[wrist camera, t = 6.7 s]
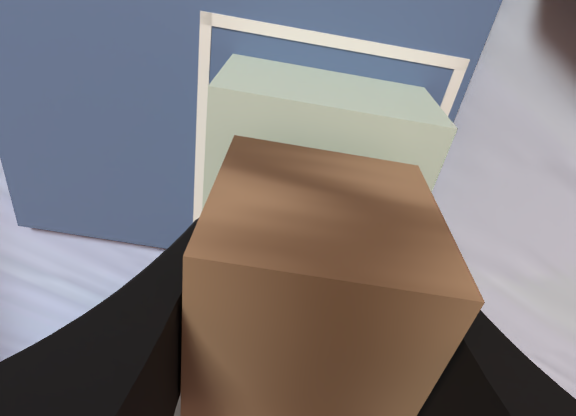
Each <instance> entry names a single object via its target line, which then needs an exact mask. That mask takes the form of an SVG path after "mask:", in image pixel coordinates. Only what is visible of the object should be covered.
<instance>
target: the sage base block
mask: <svg viewBox="0 0 576 416" xmlns="http://www.w3.org/2000/svg"><path fill="white" fill-rule="evenodd" d="M456 132H457V127H456V126H455V125H454V124H453V122H452V121H451V120H450V119H449V117H448V116H447V115H446V114H445V112H444V111H443V110H442V109H441V107H440V106H439V105H438V104H437V102H436V101H435V100H434V99H433V97H432V96H431V95H430V94H429V93H428V91H427V90H426V89H425V88H424V87H419V86H414V85H408V84H402V83H397V82H391V81H385V80H380V79H374V78H368V77H363V76H357V75H351V74H346V73H340V72H334V71H329V70H323V69H317V68H312V67H306V66H300V65H295V64H289V63H283V62H278V61H272V60H266V59H261V58H255V57H249V56H244V55H238V54H232V55H231V57H230V58H229V59H228V61H227V62H226V63H225V64H224V66H223V67H222V68H221V70H220V71H219V72H218V74H217V75H216V76H215V77H214V79H213V80H212V81H211V83H210V84H209V85H208V98H207V119H206V140H205V160H204V181H203V202H202V210H203V208H204V205H205V203H206V201H207V198H208V196H209V194H210V191H211V189H212V186H213V184H214V182H215V179H216V177H217V175H218V172H219V170H220V168H221V165H222V163H223V161H224V158H225V156H226V154H227V151H228V149H229V146H230V144H231V142H232V139H233V137H234V135H237V136H243V137H249V138H255V139H261V140H268V141H274V142H280V143H286V144H292V145H298V146H304V147H310V148H316V149H322V150H328V151H334V152H340V153H346V154H352V155H358V156H364V157H370V158H376V159H382V160H388V161H394V162H400V163H406V164H412V165H418V166H419V168H420V170H421V172H422V174H423V176H424V178H425V180H426V183H427V185H428V187H429V189H430V191H431V192H432V190H433V187H434V185H435V182H436V180H437V178H438V175H439V173H440V170H441V168H442V166H443V163H444V161H445V158H446V156H447V153H448V151H449V149H450V146H451V144H452V141H453V139H454V136H455V134H456Z"/></svg>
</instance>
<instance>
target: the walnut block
mask: <svg viewBox="0 0 576 416" xmlns="http://www.w3.org/2000/svg"><path fill="white" fill-rule="evenodd" d="M484 303H485V302H484V300H483V298H482V296H481V294H480V292H479V289H478V287H477V285H476V283H475V281H474V279H473V277H472V275H471V273H470V271H469V269H468V267H467V265H466V263H465V261H464V259H463V257H462V255H461V252H460V250H459V248H458V246H457V244H456V242H455V240H454V238H453V236H452V234H451V232H450V230H449V228H448V226H447V224H446V222H445V220H444V217H443V215H442V213H441V211H440V209H439V207H438V205H437V203H436V201H435V199H434V197H433V195H432V193H431V191H430V189H429V187H428V185H427V183H426V180H425V178H424V176H423V174H422V172H421V170H420V168H419V166H418V165H412V164H406V163H400V162H394V161H388V160H382V159H376V158H370V157H364V156H358V155H352V154H346V153H340V152H334V151H328V150H322V149H316V148H310V147H304V146H298V145H292V144H286V143H280V142H274V141H268V140H261V139H255V138H249V137H243V136H237V135H234V137H233V139H232V142H231V144H230V146H229V149H228V151H227V154H226V156H225V158H224V161H223V163H222V165H221V168H220V170H219V172H218V175H217V177H216V179H215V182H214V184H213V186H212V189H211V191H210V194H209V196H208V198H207V201H206V203H205V205H204V208H203V210H202V212H201V215H200V217H199V219H198V222H197V224H196V226H195V229H194V231H193V234H192V236H191V238H190V241H189V243H188V245H187V248H186V250H185V252H184V255H183V282H182V349H181V416H417V414H418V413H419V411H420V409H421V408H422V406H423V404H424V403H425V401H426V399H427V398H428V396H429V394H430V393H431V391H432V389H433V388H434V386H435V384H436V383H437V381H438V379H439V378H440V376H441V374H442V373H443V371H444V369H445V368H446V366H447V364H448V363H449V361H450V359H451V358H452V356H453V354H454V353H455V351H456V349H457V348H458V346H459V344H460V343H461V341H462V339H463V338H464V336H465V334H466V333H467V331H468V329H469V328H470V326H471V324H472V323H473V321H474V319H475V318H476V316H477V314H478V313H479V311H480V309H481V308H482V306H483V304H484Z"/></svg>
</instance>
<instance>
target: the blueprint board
mask: <svg viewBox="0 0 576 416" xmlns="http://www.w3.org/2000/svg"><path fill="white" fill-rule="evenodd" d="M501 2H502V0H0V158H1V162H2V166H3V170H4V173H5V177H6V181H7V185H8V189H9V193H10V196H11V200H12V204H13V208H14V212H15V215H16V219H17V223H18V226H24V227H30V228H37V229H43V230H49V231H56V232H62V233H69V234H75V235H82V236H88V237H94V238H101V239H107V240H114V241H120V242H126V243H133V244H139V245H146V246H152V247H159V248H165V249H167V248H169V247H170V246H171V245H172V244H173V243H174V242H175V241H176V240H177V239H178V238H179V237H180V236H181V235H182V234H183V233H184V232H185V231H186V230H187V229H188V228H189V226H190V225H191V224H192V223H193V222H194V221H195V220H196V219H198V218H199V217H200V215H201V212H202V202H203V181H204V160H205V140H206V119H207V98H208V85H209V84H210V83H211V81H212V80H213V79H214V77H215V76H216V75H217V74H218V72H219V71H220V70H221V68H222V67H223V66H224V64H225V63H226V62H227V61H228V59H229V58H230V57H231V55H232V54H238V55H244V56H249V57H255V58H261V59H266V60H272V61H278V62H283V63H289V64H295V65H300V66H306V67H312V68H317V69H323V70H329V71H334V72H340V73H346V74H351V75H357V76H363V77H368V78H374V79H380V80H385V81H391V82H397V83H402V84H408V85H414V86H419V87H424V88H425V89H426V90H427V91H428V93H429V94H430V95H431V96H432V97H433V99H434V100H435V101H436V102H437V104H438V105H439V106H440V107H441V109H442V110H443V111H444V112H445V114H446V115H447V116H448V117H449V119H450V120H451V121H452V122H454V119H455V117H456V114H457V112H458V109H459V107H460V104H461V102H462V99H463V97H464V94H465V92H466V89H467V87H468V84H469V82H470V79H471V77H472V75H473V72H474V70H475V67H476V65H477V62H478V60H479V57H480V55H481V52H482V50H483V47H484V45H485V42H486V40H487V37H488V35H489V32H490V30H491V27H492V25H493V22H494V20H495V17H496V15H497V12H498V10H499V7H500V5H501Z"/></svg>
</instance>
